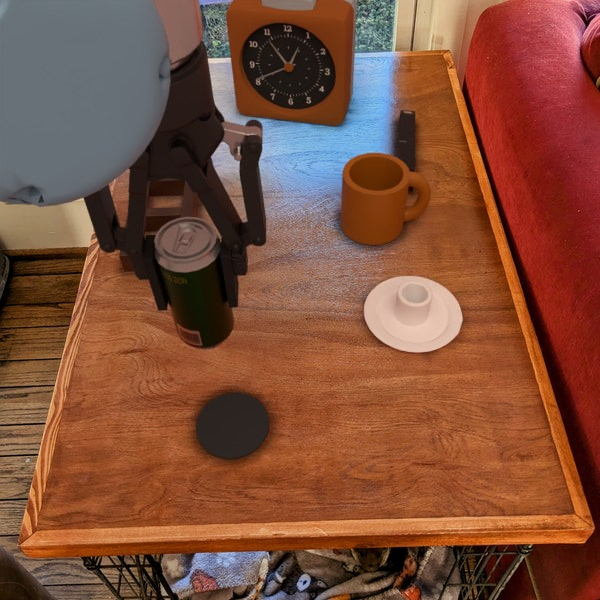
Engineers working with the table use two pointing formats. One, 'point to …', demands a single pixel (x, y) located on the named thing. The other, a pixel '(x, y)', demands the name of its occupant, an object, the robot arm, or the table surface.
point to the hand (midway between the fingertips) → (199, 296)
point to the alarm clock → (293, 58)
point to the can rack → (165, 209)
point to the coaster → (232, 425)
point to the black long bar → (407, 140)
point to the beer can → (194, 281)
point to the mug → (379, 197)
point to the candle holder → (413, 314)
